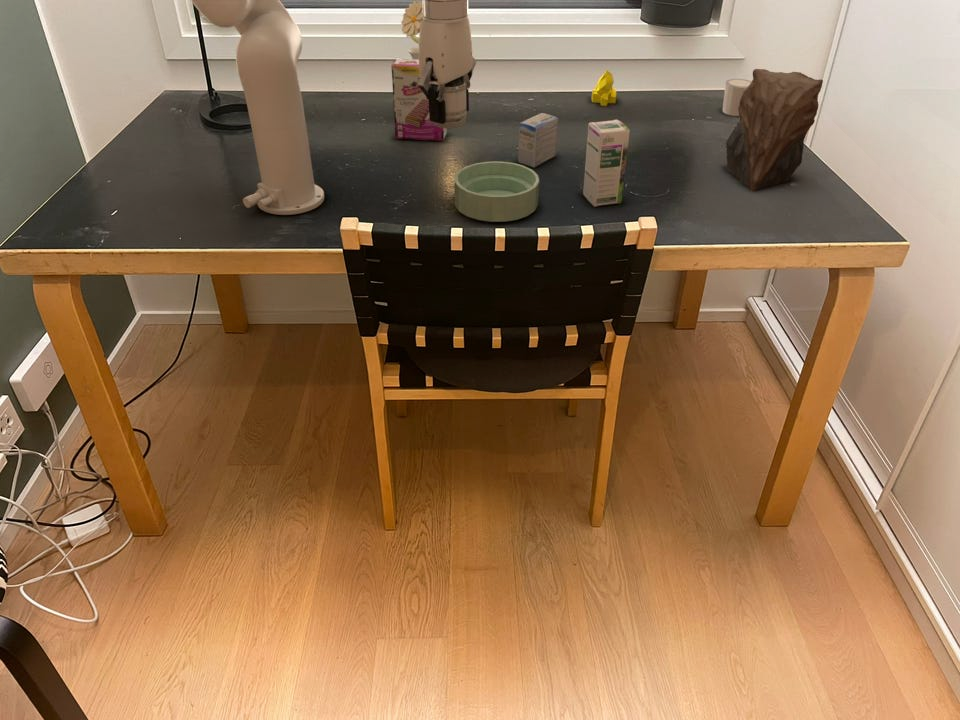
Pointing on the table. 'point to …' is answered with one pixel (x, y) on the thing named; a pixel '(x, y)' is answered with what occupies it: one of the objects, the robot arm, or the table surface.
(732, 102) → the white cylinder
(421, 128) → the candy bar box
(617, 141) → the syrup box
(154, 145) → the table surface
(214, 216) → the table surface
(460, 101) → the camera lens
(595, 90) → the yellow crystal cluster
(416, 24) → the flower in vase
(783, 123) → the owl
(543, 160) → the medicine box
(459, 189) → the bowl
